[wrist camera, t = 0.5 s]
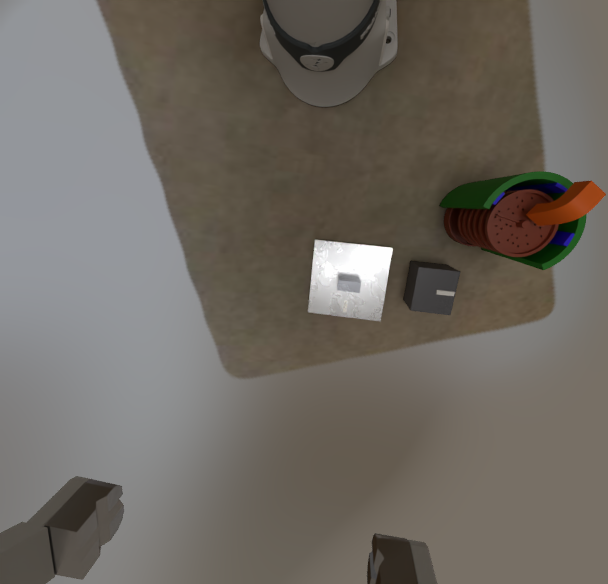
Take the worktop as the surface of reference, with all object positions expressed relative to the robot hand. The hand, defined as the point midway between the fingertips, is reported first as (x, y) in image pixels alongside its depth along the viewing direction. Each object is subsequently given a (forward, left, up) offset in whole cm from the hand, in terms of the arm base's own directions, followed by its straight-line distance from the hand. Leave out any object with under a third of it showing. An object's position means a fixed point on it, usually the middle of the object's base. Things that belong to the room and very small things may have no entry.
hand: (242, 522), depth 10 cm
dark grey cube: (0, +16, -43) cm, 46 cm away
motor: (-11, +21, -44) cm, 50 cm away
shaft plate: (+1, +4, -43) cm, 43 cm away
